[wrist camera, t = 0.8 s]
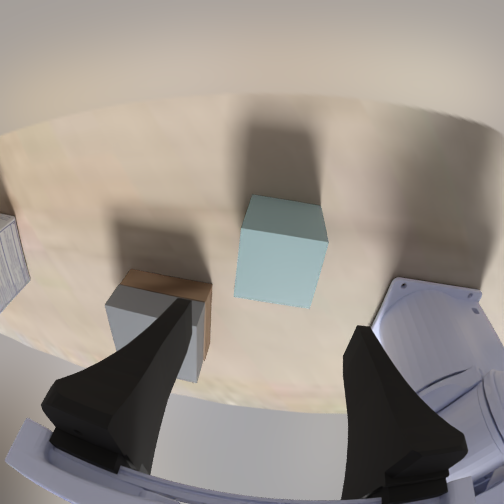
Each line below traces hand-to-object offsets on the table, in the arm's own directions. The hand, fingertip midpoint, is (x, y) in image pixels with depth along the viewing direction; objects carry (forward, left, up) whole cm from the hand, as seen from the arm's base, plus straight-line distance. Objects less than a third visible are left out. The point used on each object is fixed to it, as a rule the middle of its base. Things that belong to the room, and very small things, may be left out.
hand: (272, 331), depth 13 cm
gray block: (+8, +9, -7) cm, 14 cm away
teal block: (0, 0, -10) cm, 10 cm away
